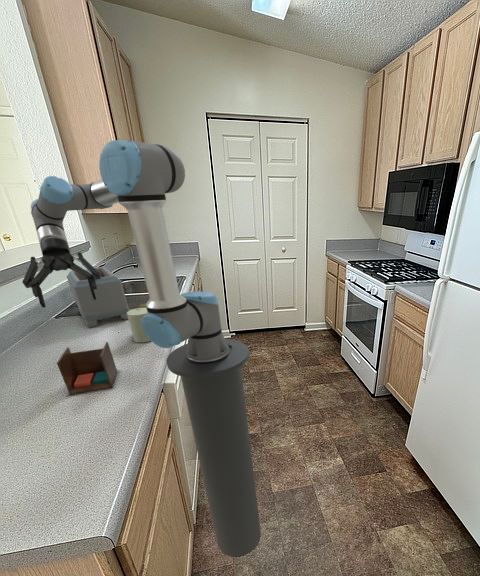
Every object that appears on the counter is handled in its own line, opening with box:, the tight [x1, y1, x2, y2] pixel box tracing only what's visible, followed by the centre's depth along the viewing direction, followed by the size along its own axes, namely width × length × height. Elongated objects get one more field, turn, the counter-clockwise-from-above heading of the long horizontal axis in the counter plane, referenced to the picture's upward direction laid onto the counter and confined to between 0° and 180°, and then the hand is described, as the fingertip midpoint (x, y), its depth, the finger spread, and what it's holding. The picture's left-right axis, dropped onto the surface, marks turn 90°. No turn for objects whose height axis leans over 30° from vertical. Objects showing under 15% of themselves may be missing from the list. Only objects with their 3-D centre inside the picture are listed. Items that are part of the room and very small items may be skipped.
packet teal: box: [93, 371, 108, 384], centre depth 105 cm, size 4×6×1 cm
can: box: [127, 307, 152, 343], centre depth 134 cm, size 9×9×12 cm
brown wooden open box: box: [56, 341, 118, 396], centre depth 103 cm, size 12×11×11 cm
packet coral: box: [74, 373, 95, 388], centre depth 104 cm, size 4×6×1 cm
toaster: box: [66, 266, 130, 328], centre depth 159 cm, size 19×33×20 cm, turn 38°
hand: (69, 301), depth 102 cm, fingers open, 13 cm apart
